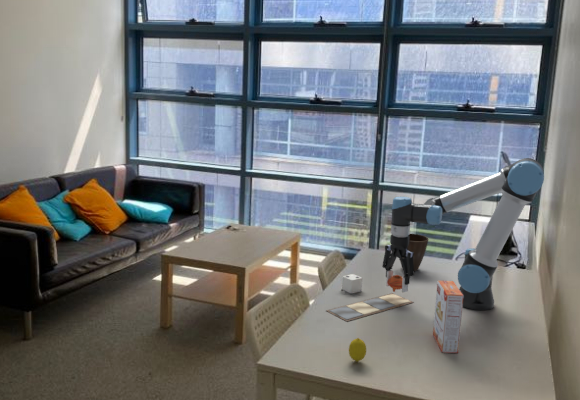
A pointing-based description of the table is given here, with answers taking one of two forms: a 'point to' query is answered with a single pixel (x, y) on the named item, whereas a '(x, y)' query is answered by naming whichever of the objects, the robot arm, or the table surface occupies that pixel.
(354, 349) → the lemon
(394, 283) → the pot
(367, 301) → the board
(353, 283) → the die
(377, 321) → the table surface
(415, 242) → the plant pot
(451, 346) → the cracker box
